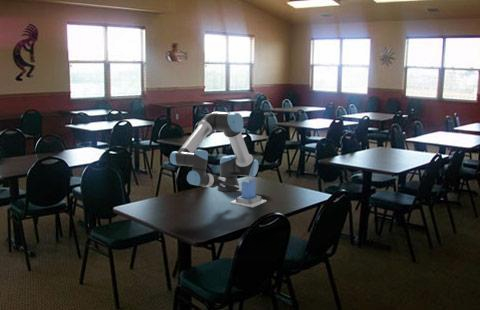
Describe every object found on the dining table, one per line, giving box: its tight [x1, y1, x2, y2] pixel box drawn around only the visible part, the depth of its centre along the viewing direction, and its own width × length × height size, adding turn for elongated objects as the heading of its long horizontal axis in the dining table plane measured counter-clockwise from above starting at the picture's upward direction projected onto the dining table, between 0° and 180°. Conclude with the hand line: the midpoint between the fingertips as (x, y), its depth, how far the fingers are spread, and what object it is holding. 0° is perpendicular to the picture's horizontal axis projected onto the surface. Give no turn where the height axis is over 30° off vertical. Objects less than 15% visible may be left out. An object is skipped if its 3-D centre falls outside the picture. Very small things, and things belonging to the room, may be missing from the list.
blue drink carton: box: [241, 179, 256, 200], centre depth 303 cm, size 7×5×13 cm
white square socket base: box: [230, 194, 267, 208], centre depth 304 cm, size 16×16×4 cm
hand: (232, 184), depth 295 cm, fingers open, 13 cm apart
